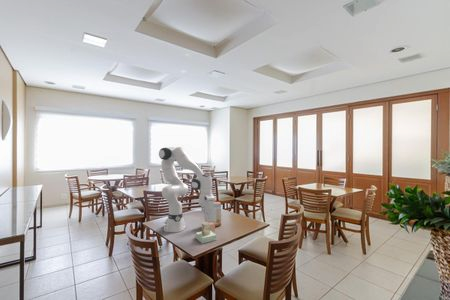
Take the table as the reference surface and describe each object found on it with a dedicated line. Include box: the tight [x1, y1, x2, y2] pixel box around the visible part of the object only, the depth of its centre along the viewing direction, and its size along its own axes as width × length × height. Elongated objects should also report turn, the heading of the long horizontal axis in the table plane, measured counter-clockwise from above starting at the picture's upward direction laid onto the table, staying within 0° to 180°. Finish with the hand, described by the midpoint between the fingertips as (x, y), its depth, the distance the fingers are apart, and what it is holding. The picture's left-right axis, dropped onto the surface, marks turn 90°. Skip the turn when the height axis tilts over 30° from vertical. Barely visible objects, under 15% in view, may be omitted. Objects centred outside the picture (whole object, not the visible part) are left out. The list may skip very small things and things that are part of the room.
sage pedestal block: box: [195, 230, 217, 244], centre depth 168 cm, size 12×12×4 cm
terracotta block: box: [209, 222, 216, 233], centre depth 182 cm, size 5×5×7 cm
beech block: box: [201, 221, 210, 236], centre depth 168 cm, size 5×5×8 cm
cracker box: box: [204, 201, 222, 227], centre depth 196 cm, size 14×6×21 cm, turn 110°
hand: (205, 213), depth 168 cm, fingers open, 8 cm apart
